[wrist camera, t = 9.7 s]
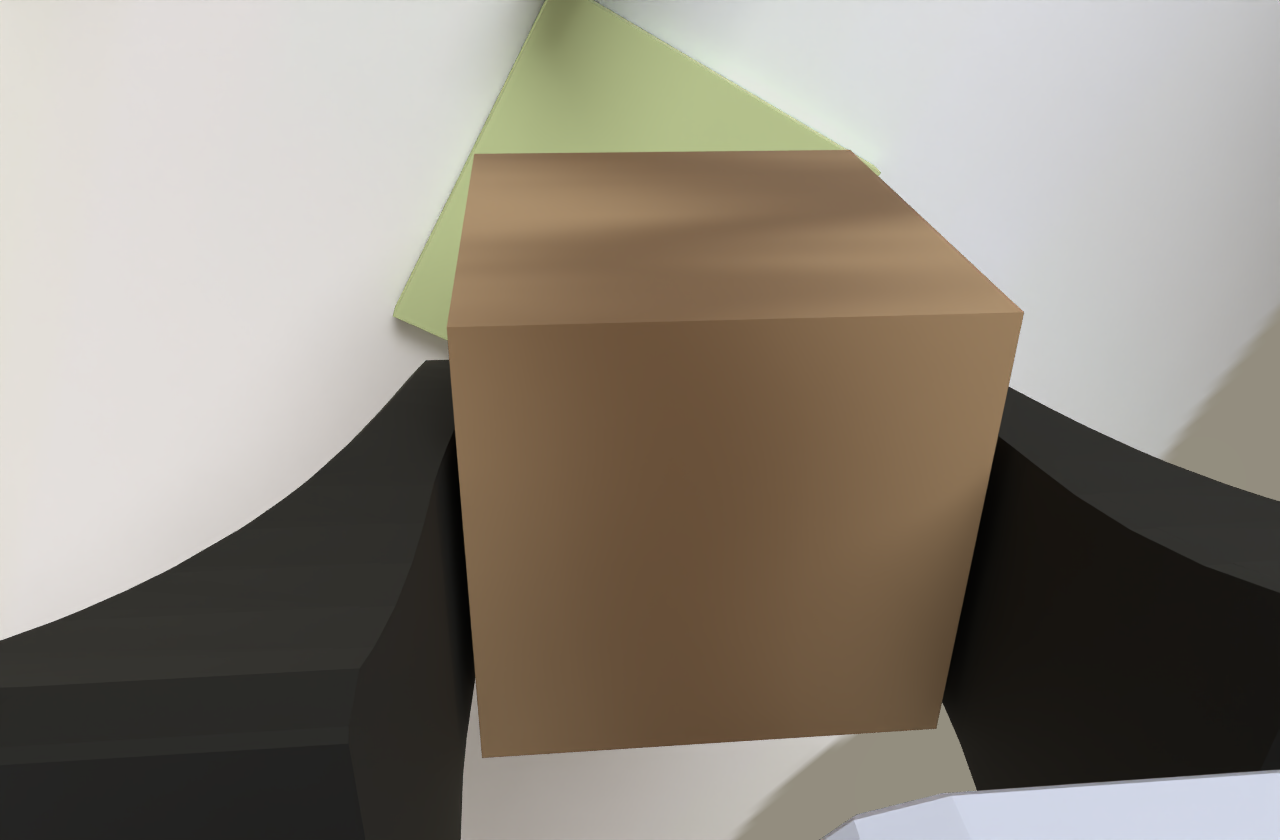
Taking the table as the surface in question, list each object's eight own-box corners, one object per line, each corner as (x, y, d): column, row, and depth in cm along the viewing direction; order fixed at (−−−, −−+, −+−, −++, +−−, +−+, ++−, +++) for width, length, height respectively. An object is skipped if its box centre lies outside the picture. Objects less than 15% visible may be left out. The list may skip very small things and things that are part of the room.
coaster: (873, 165, 17) (881, 172, 17) (690, 439, 20) (693, 450, 19) (555, -22, 15) (557, -18, 15) (395, 306, 18) (392, 315, 17)
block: (849, 149, 13) (1024, 312, 8) (813, 467, 15) (935, 728, 10) (474, 153, 12) (447, 326, 8) (495, 479, 14) (482, 757, 10)
